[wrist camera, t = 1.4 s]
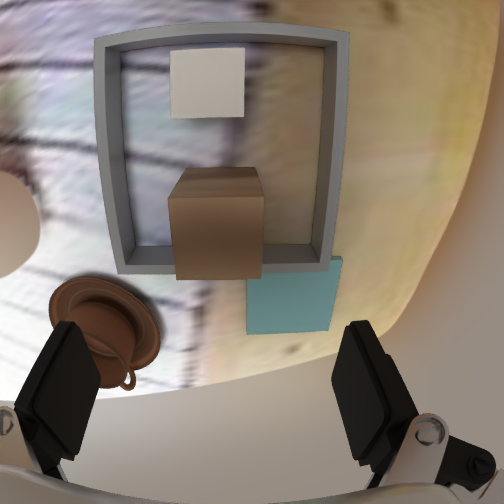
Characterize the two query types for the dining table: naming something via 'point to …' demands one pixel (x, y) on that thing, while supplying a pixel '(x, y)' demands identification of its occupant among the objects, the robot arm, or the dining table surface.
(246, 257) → the walnut block
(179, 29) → the grey square frame
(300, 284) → the pad
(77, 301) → the cup and saucer
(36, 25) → the dining table surface
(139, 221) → the dining table surface
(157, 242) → the dining table surface
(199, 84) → the pale grey block
